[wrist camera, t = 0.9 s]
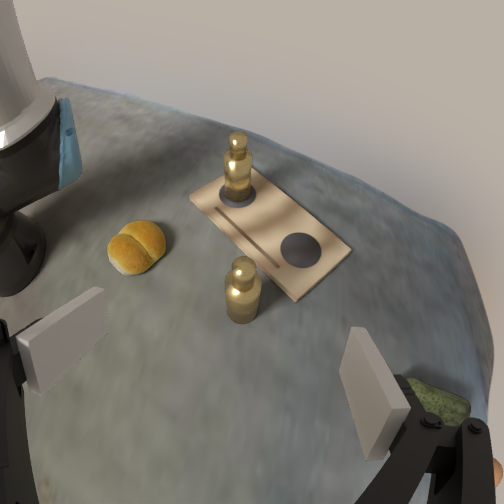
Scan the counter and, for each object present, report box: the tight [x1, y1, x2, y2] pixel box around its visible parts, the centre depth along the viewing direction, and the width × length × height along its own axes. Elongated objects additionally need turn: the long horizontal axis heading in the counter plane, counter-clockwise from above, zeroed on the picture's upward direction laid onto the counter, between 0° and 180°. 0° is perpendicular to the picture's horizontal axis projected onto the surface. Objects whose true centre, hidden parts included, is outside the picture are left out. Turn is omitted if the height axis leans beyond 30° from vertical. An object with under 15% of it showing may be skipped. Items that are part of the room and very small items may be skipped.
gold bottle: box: [224, 131, 252, 203], centre depth 45 cm, size 4×4×12 cm
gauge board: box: [189, 168, 351, 303], centre depth 48 cm, size 24×12×1 cm, turn 42°
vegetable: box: [405, 377, 471, 427], centre depth 31 cm, size 14×5×5 cm, turn 64°
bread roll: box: [107, 220, 166, 276], centre depth 43 cm, size 8×9×4 cm
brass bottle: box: [225, 256, 262, 324], centre depth 36 cm, size 4×4×12 cm
